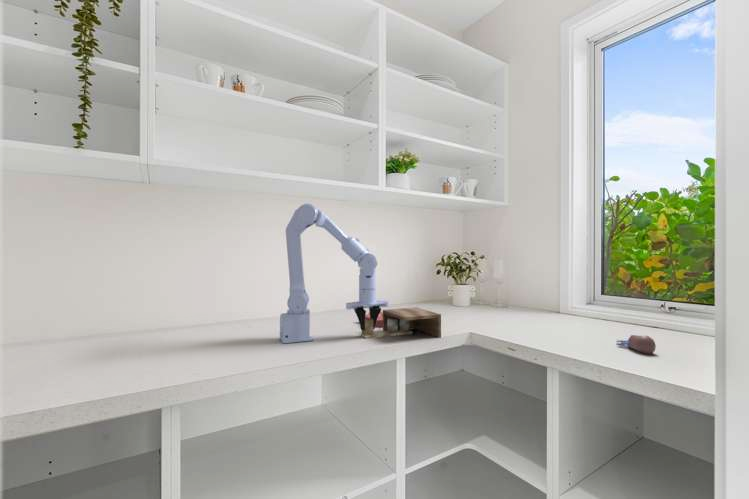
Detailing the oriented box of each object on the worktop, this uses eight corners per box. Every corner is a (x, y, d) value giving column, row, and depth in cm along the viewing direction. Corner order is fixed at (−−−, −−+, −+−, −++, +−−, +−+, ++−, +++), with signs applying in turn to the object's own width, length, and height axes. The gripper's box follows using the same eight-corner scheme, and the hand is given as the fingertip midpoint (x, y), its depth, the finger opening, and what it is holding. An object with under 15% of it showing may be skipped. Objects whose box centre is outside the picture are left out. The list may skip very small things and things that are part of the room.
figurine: (611, 350, 104) (644, 355, 92) (609, 333, 105) (641, 336, 93) (627, 350, 104) (662, 355, 92) (625, 333, 105) (659, 336, 93)
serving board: (366, 338, 111) (366, 320, 111) (360, 335, 116) (360, 317, 116) (412, 333, 118) (412, 316, 118) (405, 330, 123) (405, 314, 123)
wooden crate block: (404, 341, 107) (404, 317, 107) (382, 331, 122) (382, 309, 122) (441, 337, 113) (441, 314, 113) (416, 327, 128) (416, 307, 128)
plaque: (362, 310, 146) (396, 310, 146) (361, 319, 146) (396, 319, 146) (360, 318, 128) (399, 318, 129) (360, 328, 128) (399, 328, 128)
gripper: (351, 291, 108) (351, 333, 108) (392, 289, 114) (392, 329, 113) (344, 288, 114) (344, 329, 114) (383, 287, 120) (383, 325, 120)
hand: (367, 329), depth 114 cm, fingers closed on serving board, 3 cm apart
